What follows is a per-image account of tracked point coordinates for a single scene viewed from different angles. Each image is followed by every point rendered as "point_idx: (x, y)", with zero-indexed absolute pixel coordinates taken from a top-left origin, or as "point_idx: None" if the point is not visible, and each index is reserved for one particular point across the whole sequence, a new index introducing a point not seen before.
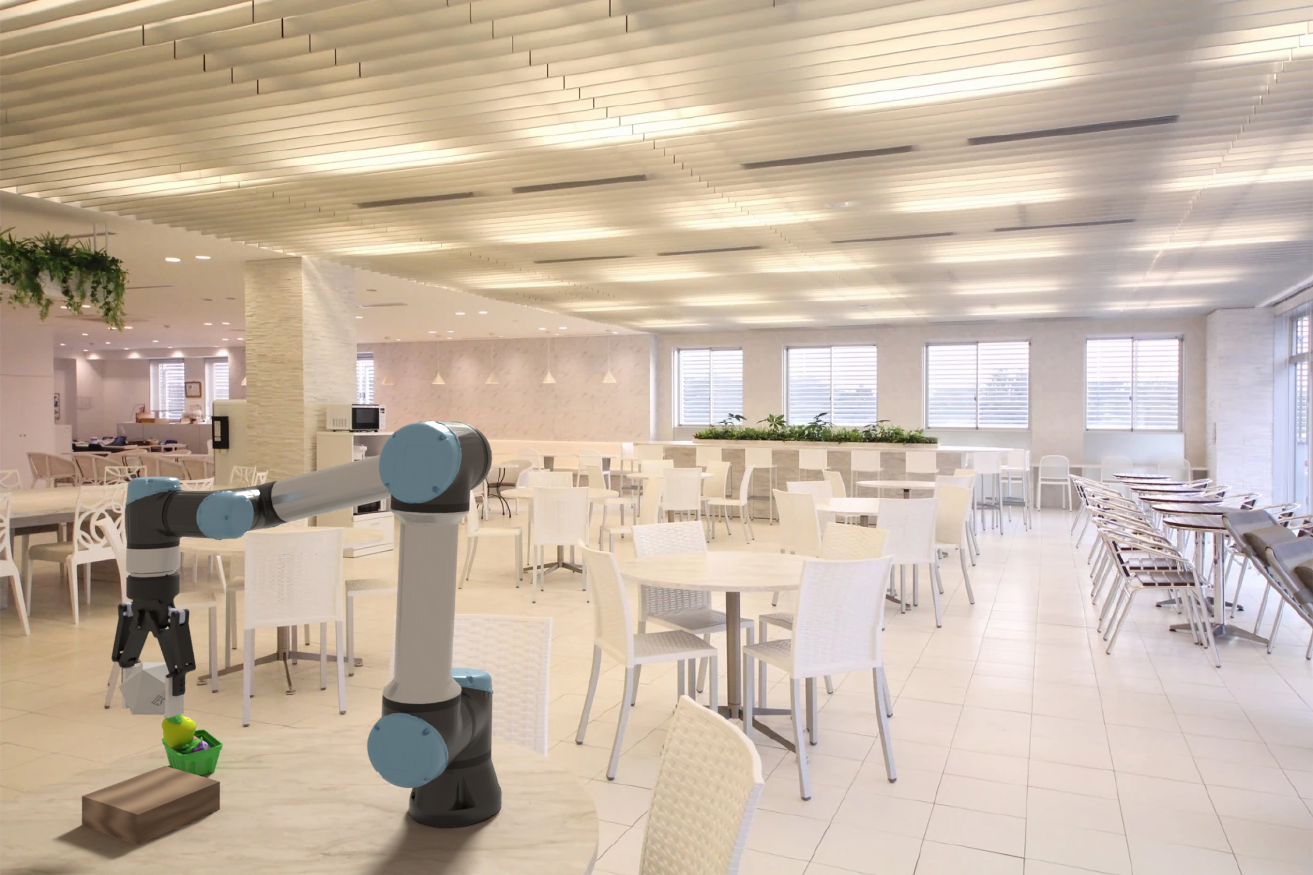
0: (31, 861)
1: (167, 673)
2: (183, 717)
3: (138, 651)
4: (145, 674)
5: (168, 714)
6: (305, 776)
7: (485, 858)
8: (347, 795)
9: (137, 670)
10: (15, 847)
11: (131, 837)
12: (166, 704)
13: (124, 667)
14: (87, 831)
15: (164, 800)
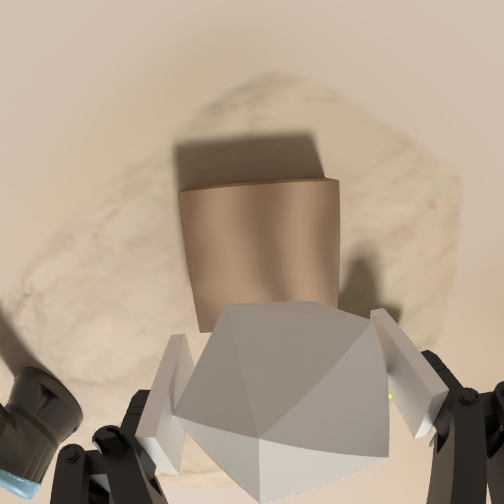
0: (265, 82)
1: (220, 460)
2: (390, 394)
3: (435, 477)
4: (241, 421)
5: (169, 341)
6: None
7: None
8: (127, 391)
9: (342, 423)
10: (329, 93)
11: (202, 186)
12: (170, 360)
13: (452, 396)
14: (296, 169)
15: (198, 247)
